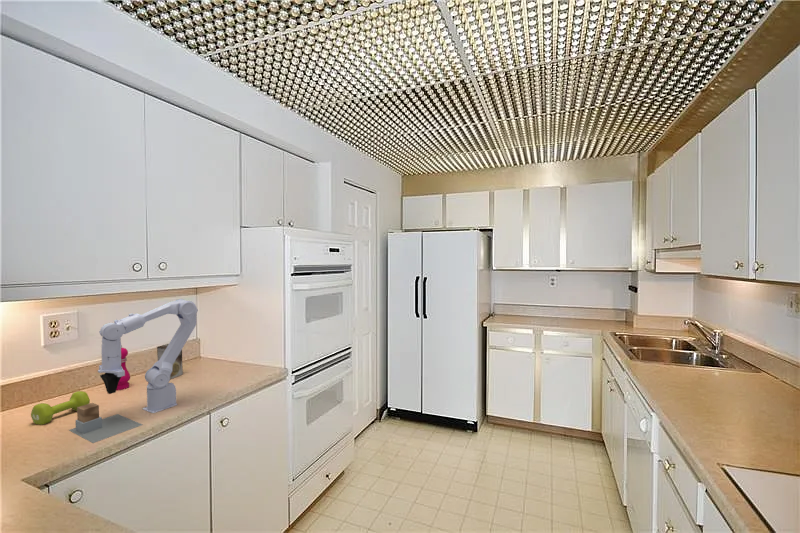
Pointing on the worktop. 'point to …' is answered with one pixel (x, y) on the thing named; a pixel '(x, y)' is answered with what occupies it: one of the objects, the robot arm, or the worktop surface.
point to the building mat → (109, 428)
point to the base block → (89, 425)
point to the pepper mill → (124, 379)
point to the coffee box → (177, 364)
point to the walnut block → (87, 412)
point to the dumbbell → (58, 407)
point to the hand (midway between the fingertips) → (111, 392)
